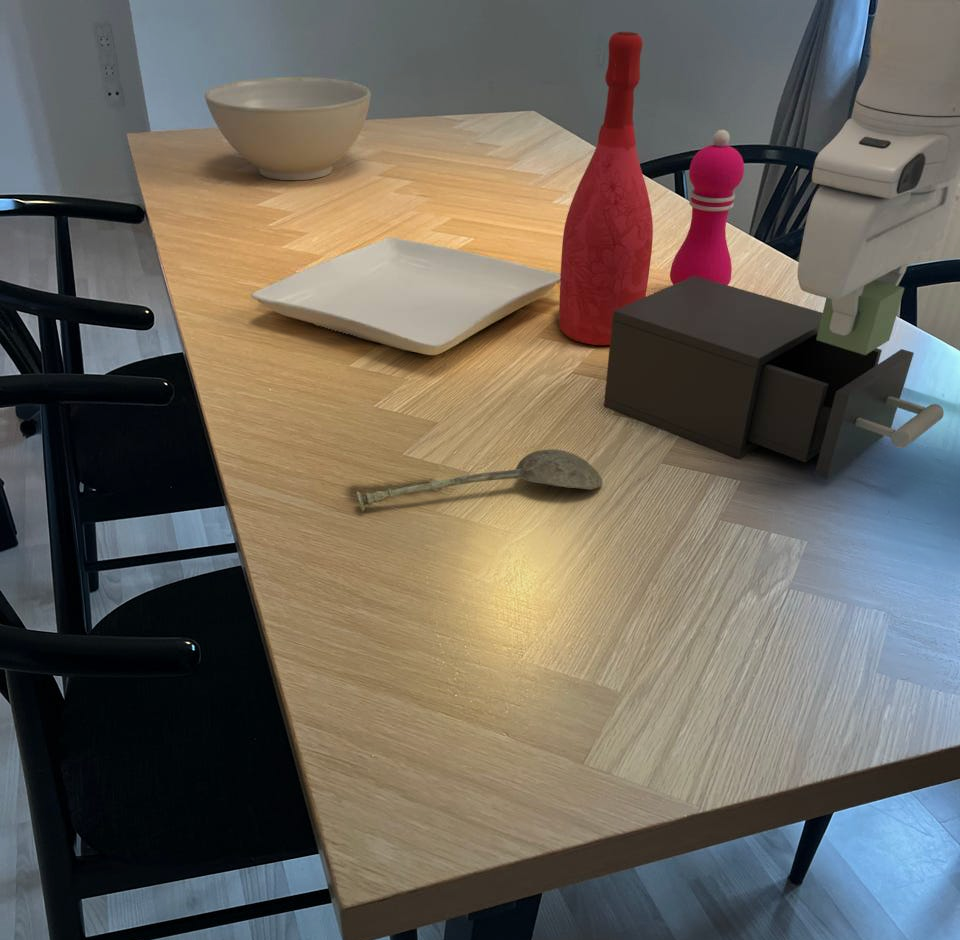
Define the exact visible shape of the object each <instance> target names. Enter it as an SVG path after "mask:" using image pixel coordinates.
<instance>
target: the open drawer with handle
mask: <svg viewBox="0 0 960 940" xmlns="http://www.w3.org/2000/svg"><path fill="white" fill-rule="evenodd" d="M816 338H817V334H816V335H814V336H812V337H811V338H809V339H807V340H805V341H804V342H802V343H800V344H798V345H796V346H795V347H793V348H791V349H789V350H788V351H786V352H784V353H782V354H781V355H779V356H777V357H775V358H774V359H772V360H770V361H768V362H767V363H765V364H763V365H762V368H761V373H760V378H759V383H758V388H757V393H756V398H755V403H754V408H753V412H752V417H751V422H750V427H749V432H748V437H747V440H748V441H750V442H753V443H755V444H758V445H759V446H761V447H763V448H766V449H769V450H771V451H774V452H776V453H779V454H781V455H784V456H787V457H790V458H792V459H795V460H798V461H800V462H803V463H807V462H808V461H809V460H811V459H812V458H814V457H815V456H816V455H818V454H819V455H818V459H817V463H816V467H815V471H814V476H817V477H819V478H822V479H824V480H828V479H830V477H832V476H833V475H834V474H836V473H838V471H840V470H841V469H842V468H843V467H845V466H847V465H848V464H849V463H850V462H852V461H853V460H855V459H856V458H857V457H859V456H860V455H861V454H863V453H864V452H865V451H867V450H868V449H869V448H870V447H872V446H873V445H874V444H876V443H877V442H878V441H880V440H882V438H884V437H886V438H890V440H891V443H892V445H893V446H894V447H896V448H898V449H904V448H907V447H908V446H909V445H910V444H912V443H913V442H914V441H915V440H917V439H918V438H919V437H921V435H923V434H924V433H926V432H927V431H928V430H929V429H930V428H932V427H933V426H934V425H935V424H937V423H938V422H939V421H941V420H942V419H943V418H944V413H945V411H944V408H943V407H942V406H941V404H938V403H931V404H929V405H928V406H926V407H925V406H923V405H920V404H916V403H914V402H910V401H907V400H904V399H901V396H902V393H903V390H904V387H905V383H906V380H907V378H908V374H909V371H910V367H911V363H912V360H913V357H914V354H915V353H914V351H910V350H906V349H902V348H901V349H899V350H897V351H896V352H895V353H893V354H892V355H890V356H889V357H887V358H886V359H884V360H883V361H880V359H881V355H882V352H883V349H881V348H879V347H878V348H876V349H874V350H873V351H871V352H870V353H868V354H866V355H863V354H860V353H856V352H853V351H850V350H847V349H844V348H840V347H837V346H834V345H831V344H827V343H824V342H821V341H818V340H816ZM879 361H880V363H879ZM897 409H901V410H904V411H907V412H910V413H912V414H916V415H914V416H913V417H912V418H911V419H909V420H908V421H907V422H905V423H904V424H902V425H901V426H900V427H899V428H897V429H894V428H893V427H892V426H893V423H894V419H895V417H896V413H897Z"/></svg>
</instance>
